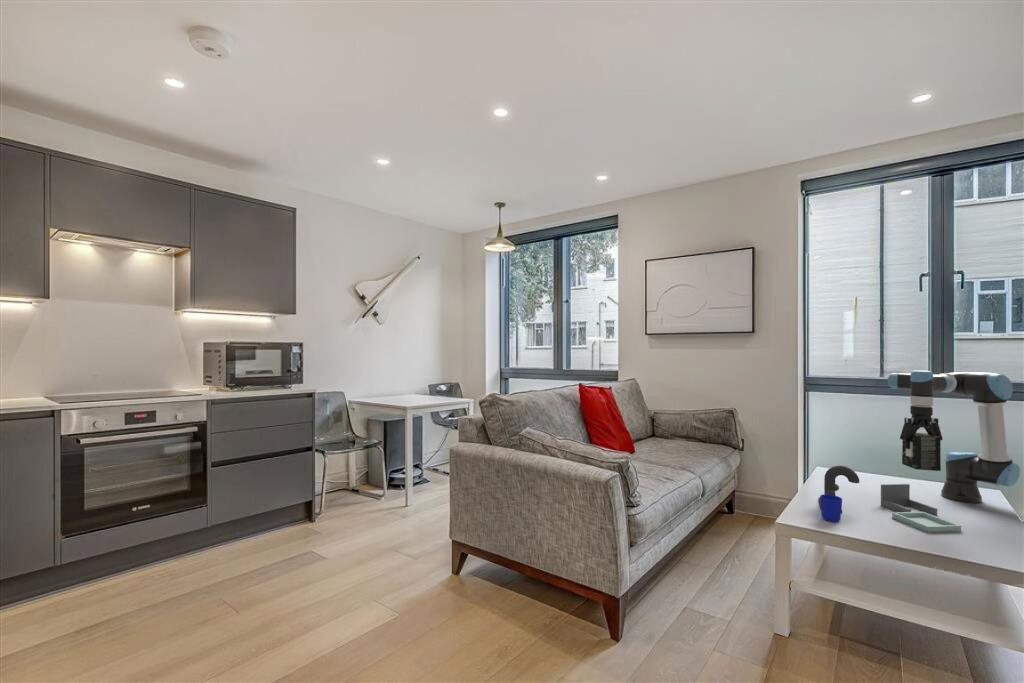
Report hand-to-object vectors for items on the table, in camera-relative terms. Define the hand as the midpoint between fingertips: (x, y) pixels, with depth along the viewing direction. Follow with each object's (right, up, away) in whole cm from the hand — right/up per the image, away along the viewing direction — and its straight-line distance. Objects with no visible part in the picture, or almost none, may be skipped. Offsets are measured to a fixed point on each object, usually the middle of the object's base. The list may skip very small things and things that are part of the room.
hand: (921, 456), depth 213 cm
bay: (+6, -29, +14) cm, 32 cm away
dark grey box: (0, -5, 0) cm, 5 cm away
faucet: (-24, -29, +17) cm, 41 cm away
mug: (-38, -29, +3) cm, 48 cm away
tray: (-1, -28, -4) cm, 29 cm away
